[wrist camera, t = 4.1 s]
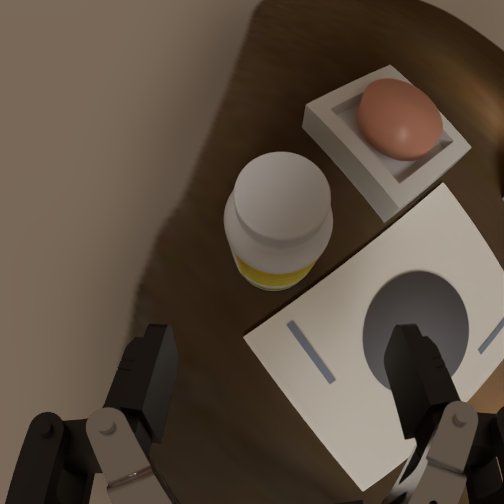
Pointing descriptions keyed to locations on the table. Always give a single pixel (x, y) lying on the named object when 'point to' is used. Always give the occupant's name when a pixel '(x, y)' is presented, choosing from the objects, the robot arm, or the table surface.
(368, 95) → the button
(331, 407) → the white flat board
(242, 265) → the supplement bottle
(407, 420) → the robot arm
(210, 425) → the table surface
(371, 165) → the white square tray
